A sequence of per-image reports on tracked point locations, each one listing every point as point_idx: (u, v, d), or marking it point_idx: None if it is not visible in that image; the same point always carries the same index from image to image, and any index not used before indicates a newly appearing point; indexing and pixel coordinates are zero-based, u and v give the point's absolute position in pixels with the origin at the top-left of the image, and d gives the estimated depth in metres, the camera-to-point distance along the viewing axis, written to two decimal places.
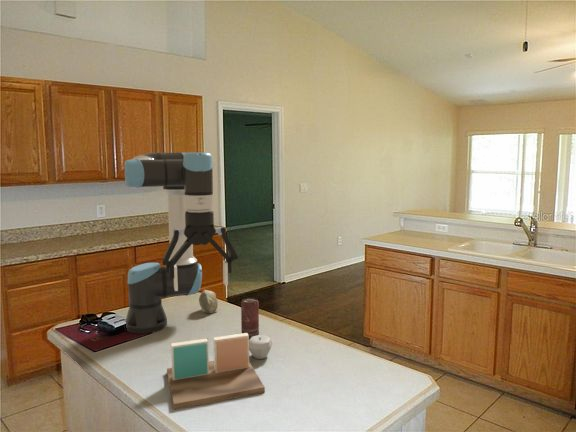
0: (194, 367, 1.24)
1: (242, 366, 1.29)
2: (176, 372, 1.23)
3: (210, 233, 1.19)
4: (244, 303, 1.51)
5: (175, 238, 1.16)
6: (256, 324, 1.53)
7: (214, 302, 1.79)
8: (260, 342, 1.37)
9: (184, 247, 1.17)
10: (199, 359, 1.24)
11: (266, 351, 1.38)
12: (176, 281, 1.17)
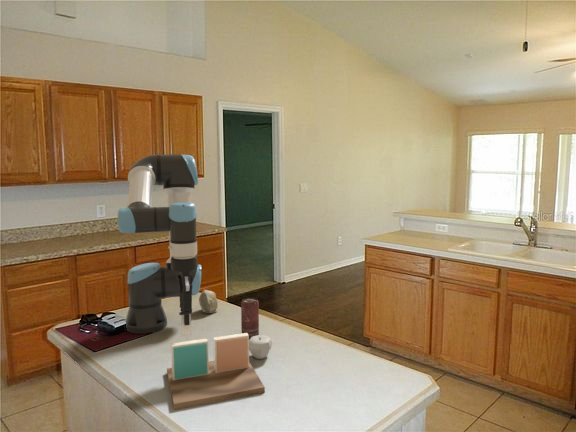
0: (194, 367, 1.24)
1: (242, 366, 1.29)
2: (176, 372, 1.23)
3: (181, 278, 1.26)
4: (244, 303, 1.51)
5: None
6: (256, 324, 1.53)
7: (214, 302, 1.79)
8: (260, 342, 1.37)
9: (180, 291, 1.30)
10: (199, 359, 1.24)
11: (266, 351, 1.38)
12: (181, 326, 1.30)
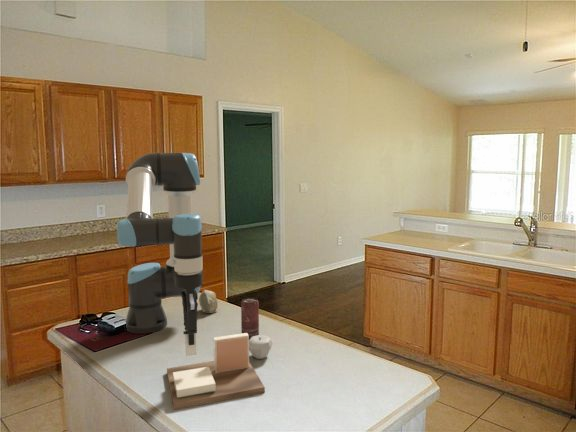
0: None
1: (242, 366, 1.29)
2: None
3: (186, 295, 1.17)
4: (244, 303, 1.51)
5: None
6: (256, 324, 1.53)
7: (214, 302, 1.79)
8: (260, 342, 1.37)
9: None
10: None
11: (266, 351, 1.38)
12: None
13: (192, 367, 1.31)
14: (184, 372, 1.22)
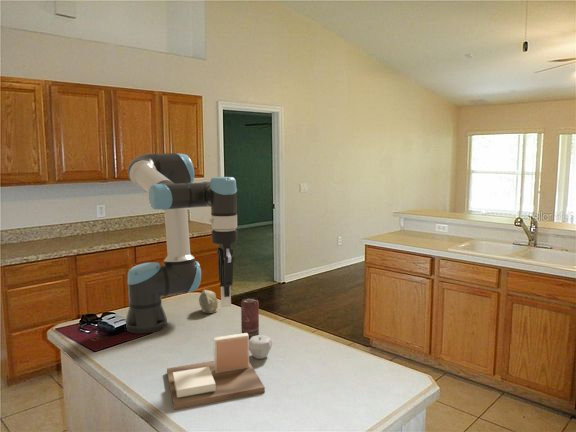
0: None
1: (242, 366, 1.29)
2: None
3: (222, 250, 1.29)
4: (244, 303, 1.51)
5: (217, 255, 1.36)
6: (256, 324, 1.53)
7: (214, 302, 1.79)
8: (260, 342, 1.37)
9: (220, 264, 1.33)
10: None
11: (266, 351, 1.38)
12: (221, 297, 1.33)
13: (192, 367, 1.31)
14: (184, 372, 1.22)
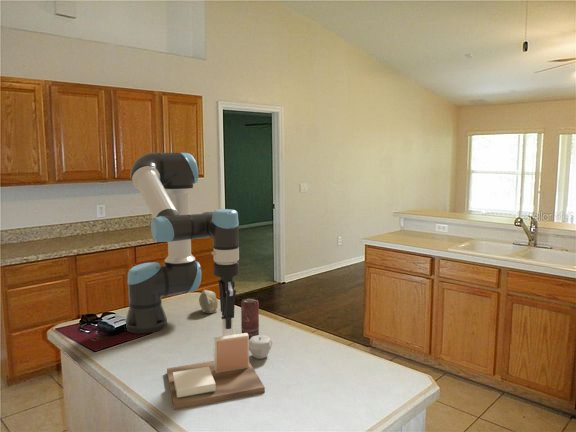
0: None
1: (242, 366, 1.29)
2: None
3: (224, 283, 1.29)
4: (244, 303, 1.51)
5: (219, 286, 1.36)
6: (256, 324, 1.53)
7: (214, 302, 1.79)
8: (260, 342, 1.37)
9: (221, 295, 1.33)
10: None
11: (266, 351, 1.38)
12: None
13: (192, 367, 1.31)
14: (184, 372, 1.22)
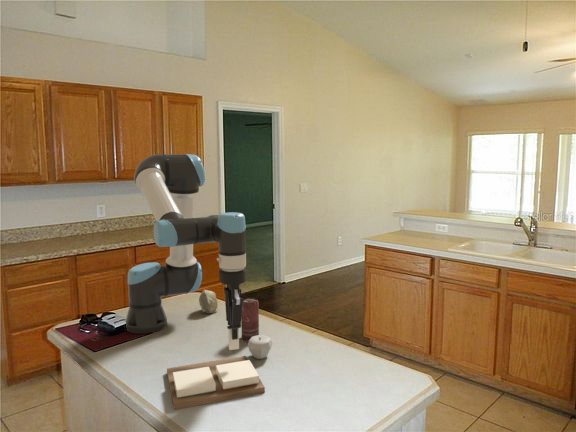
0: None
1: None
2: None
3: (230, 291, 1.21)
4: (244, 303, 1.51)
5: (225, 294, 1.28)
6: (256, 324, 1.53)
7: (214, 302, 1.79)
8: (260, 342, 1.37)
9: (227, 304, 1.25)
10: None
11: (266, 351, 1.38)
12: None
13: (192, 367, 1.31)
14: (184, 372, 1.22)
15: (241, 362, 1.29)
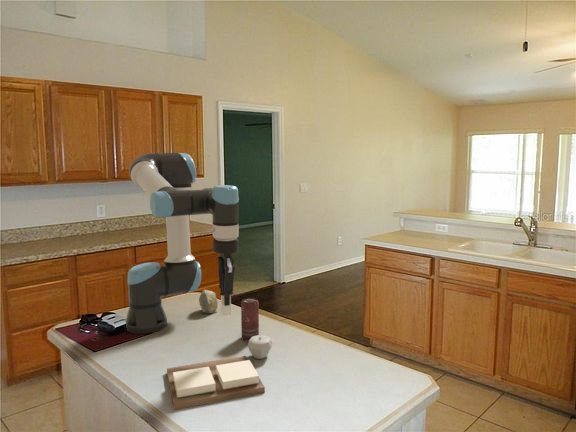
0: None
1: None
2: None
3: (223, 260, 1.28)
4: (244, 303, 1.51)
5: (218, 263, 1.35)
6: (256, 324, 1.53)
7: (214, 302, 1.79)
8: (260, 342, 1.37)
9: (220, 272, 1.32)
10: None
11: (266, 351, 1.38)
12: (221, 306, 1.33)
13: (192, 367, 1.31)
14: (184, 372, 1.22)
15: (241, 362, 1.29)
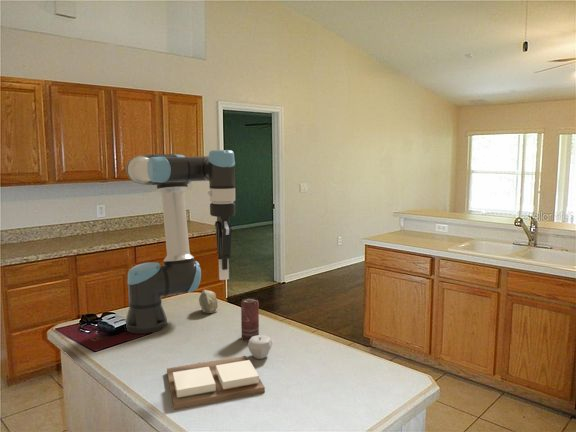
0: None
1: None
2: None
3: (221, 223, 1.29)
4: (244, 303, 1.51)
5: None
6: (256, 324, 1.53)
7: (214, 302, 1.79)
8: (260, 342, 1.37)
9: (218, 237, 1.34)
10: None
11: (266, 351, 1.38)
12: (219, 270, 1.34)
13: (192, 367, 1.31)
14: (184, 372, 1.22)
15: (241, 362, 1.29)
